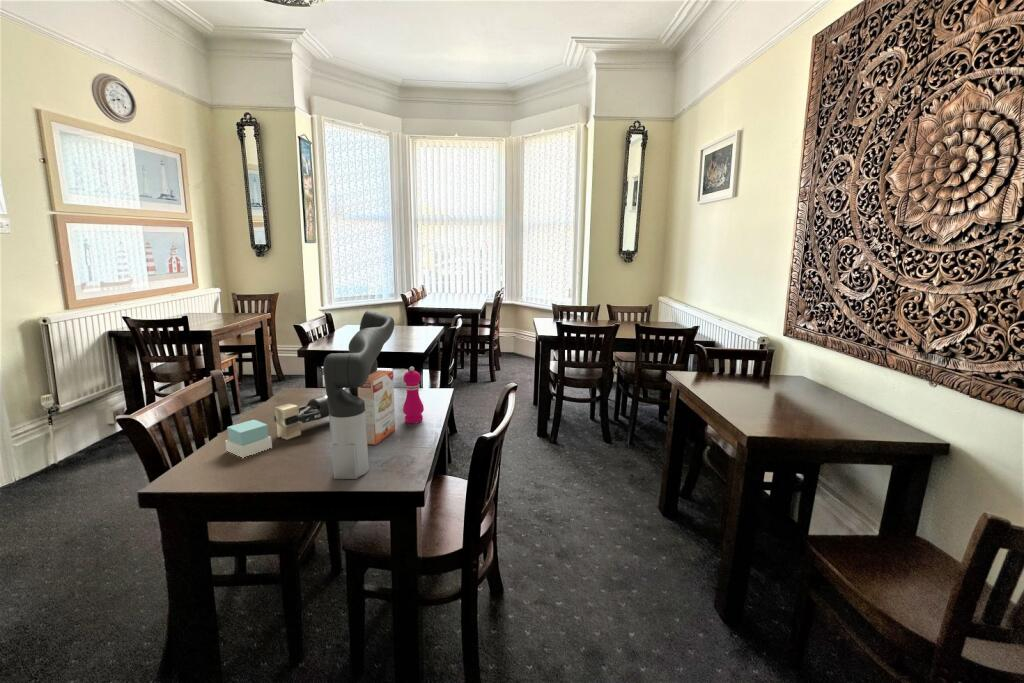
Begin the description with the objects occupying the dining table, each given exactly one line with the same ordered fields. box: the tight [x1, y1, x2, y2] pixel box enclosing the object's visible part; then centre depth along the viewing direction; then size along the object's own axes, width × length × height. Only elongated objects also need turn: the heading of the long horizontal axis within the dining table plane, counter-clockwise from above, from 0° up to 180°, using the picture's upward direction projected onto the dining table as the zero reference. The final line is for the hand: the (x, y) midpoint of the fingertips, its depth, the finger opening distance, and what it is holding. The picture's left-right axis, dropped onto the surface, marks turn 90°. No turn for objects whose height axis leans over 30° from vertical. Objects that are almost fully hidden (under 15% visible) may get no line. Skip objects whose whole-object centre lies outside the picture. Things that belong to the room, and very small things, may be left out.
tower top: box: [226, 419, 270, 446], centre depth 143 cm, size 8×8×4 cm
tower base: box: [224, 435, 273, 459], centre depth 143 cm, size 9×9×4 cm
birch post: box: [274, 403, 302, 441], centre depth 153 cm, size 5×5×10 cm
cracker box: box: [358, 369, 396, 446], centre depth 152 cm, size 14×6×21 cm, turn 168°
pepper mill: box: [402, 366, 425, 424], centre depth 166 cm, size 7×7×20 cm
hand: (280, 420), depth 151 cm, fingers closed on birch post, 5 cm apart
